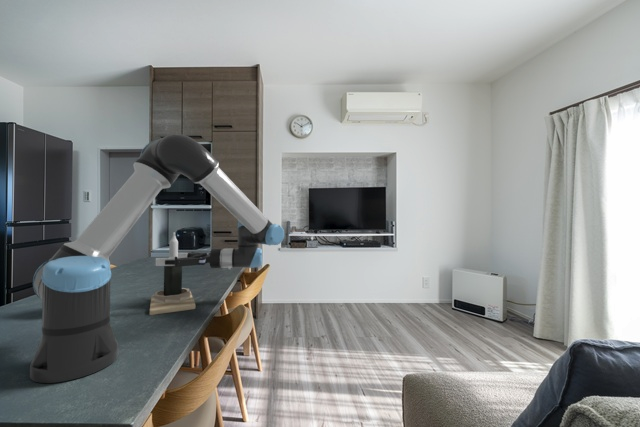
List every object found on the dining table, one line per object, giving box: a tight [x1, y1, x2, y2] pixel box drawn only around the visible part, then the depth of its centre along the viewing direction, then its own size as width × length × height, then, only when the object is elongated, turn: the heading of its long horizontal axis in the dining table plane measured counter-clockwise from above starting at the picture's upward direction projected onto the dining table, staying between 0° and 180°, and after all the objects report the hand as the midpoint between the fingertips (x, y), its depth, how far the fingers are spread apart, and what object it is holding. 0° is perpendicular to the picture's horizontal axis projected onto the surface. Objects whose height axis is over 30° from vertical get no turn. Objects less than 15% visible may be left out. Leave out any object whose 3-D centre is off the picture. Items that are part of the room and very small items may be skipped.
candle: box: [163, 232, 183, 296], centre depth 111 cm, size 5×5×25 cm
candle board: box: [149, 287, 196, 316], centre depth 109 cm, size 20×14×4 cm
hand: (163, 259), depth 110 cm, fingers open, 13 cm apart
